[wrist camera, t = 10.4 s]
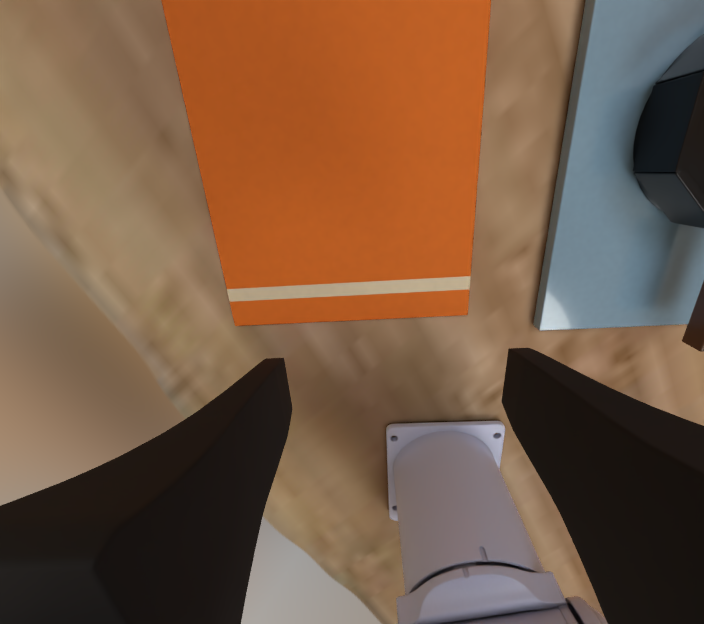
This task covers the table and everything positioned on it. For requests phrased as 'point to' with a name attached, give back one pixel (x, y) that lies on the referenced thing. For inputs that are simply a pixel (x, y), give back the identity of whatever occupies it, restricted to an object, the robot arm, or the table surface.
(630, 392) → the table surface
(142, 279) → the table surface
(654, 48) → the trivet
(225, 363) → the table surface
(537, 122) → the table surface
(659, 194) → the skillet
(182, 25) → the tea towel
